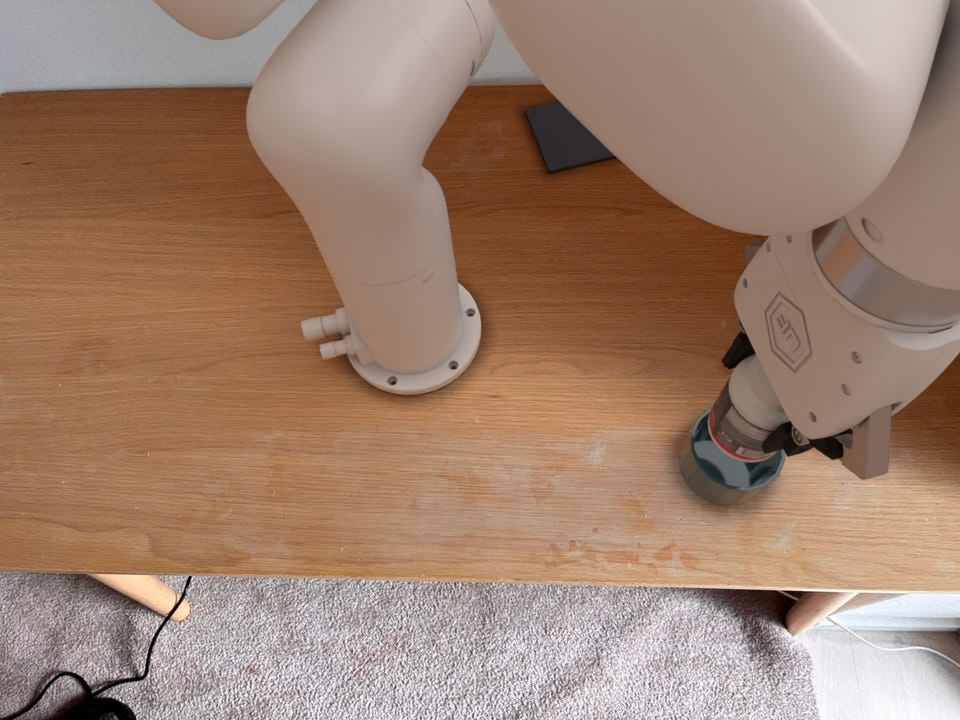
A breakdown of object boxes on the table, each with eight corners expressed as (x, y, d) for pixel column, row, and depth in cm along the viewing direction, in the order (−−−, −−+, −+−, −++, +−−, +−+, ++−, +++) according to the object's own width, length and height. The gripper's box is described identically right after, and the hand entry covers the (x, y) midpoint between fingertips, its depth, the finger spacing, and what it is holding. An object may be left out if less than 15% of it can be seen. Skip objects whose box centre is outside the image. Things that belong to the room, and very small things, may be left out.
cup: (698, 515, 55) (712, 501, 51) (665, 435, 58) (676, 415, 54) (780, 493, 55) (801, 476, 51) (744, 414, 58) (760, 393, 54)
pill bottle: (728, 381, 51) (768, 315, 43) (796, 421, 50) (851, 360, 41) (691, 436, 50) (725, 378, 41) (760, 479, 48) (810, 428, 39)
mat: (549, 173, 71) (549, 170, 70) (524, 112, 75) (524, 109, 74) (632, 153, 71) (632, 151, 71) (603, 93, 75) (604, 91, 75)
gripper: (744, 111, 32) (662, 305, 49) (939, 448, 25) (765, 543, 41) (890, 79, 33) (761, 281, 49) (1122, 398, 26) (880, 511, 42)
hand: (764, 400), depth 45 cm, fingers closed on pill bottle, 5 cm apart
